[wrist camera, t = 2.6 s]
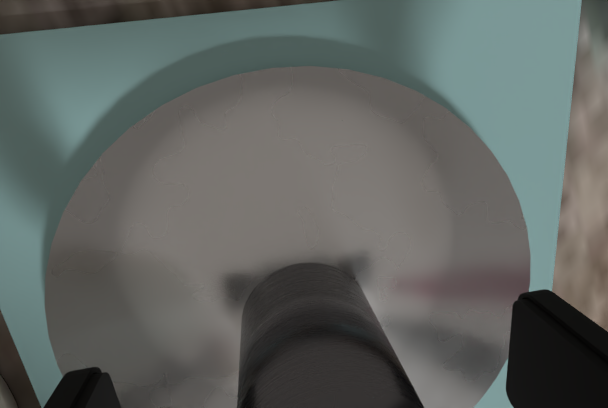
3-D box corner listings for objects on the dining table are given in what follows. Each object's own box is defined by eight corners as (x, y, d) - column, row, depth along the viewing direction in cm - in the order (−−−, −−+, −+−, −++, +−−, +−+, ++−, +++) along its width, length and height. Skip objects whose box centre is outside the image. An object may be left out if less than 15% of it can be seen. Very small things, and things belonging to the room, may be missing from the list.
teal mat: (528, 444, 17) (535, 453, 16) (103, 534, 15) (99, 546, 15) (572, -21, 11) (583, -25, 11) (-96, 47, 9) (-110, 45, 9)
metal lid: (503, 432, 16) (639, 620, 10) (130, 510, 14) (53, 774, 9) (529, 38, 11) (807, -9, 5) (-22, 103, 10) (-384, 128, 4)
